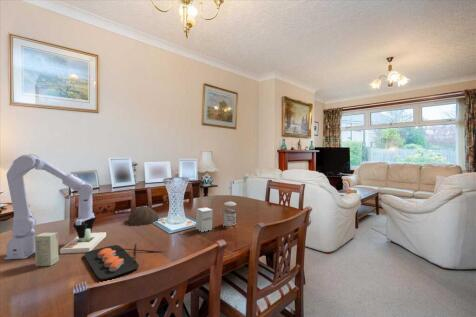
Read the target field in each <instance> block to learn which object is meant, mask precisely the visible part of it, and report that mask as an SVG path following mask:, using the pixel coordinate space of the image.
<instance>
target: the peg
mask: <svg viewBox="0 0 476 317" xmlns="http://www.w3.org/2000/svg"><path fill="white" fill-rule="evenodd" d="M91 233H92V231H91V229H86V230H85V236H84V238H80V242H90V241H91Z"/></svg>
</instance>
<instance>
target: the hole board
mask: <svg viewBox="0 0 476 317" xmlns="http://www.w3.org/2000/svg"><path fill="white" fill-rule="evenodd" d="M106 237H107V232H91V241H90V242H80V238H79V237H78V235H77V236H76V237H75V238H73V239H71V240H70V241H69V242H67V243H66V244H65V245H63V246H62V247H61V248H60V249H59V254H60V255H61V254H62V255H63V254H76V253H77V254H80V253H86V252H89V251H92V250H94V248H95V247H96V246H98V244H100V243H101V242H102V241H103V239H105V238H106Z"/></svg>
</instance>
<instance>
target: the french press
mask: <svg viewBox="0 0 476 317" xmlns="http://www.w3.org/2000/svg"><path fill="white" fill-rule="evenodd" d="M228 189H229V190H230V194H229V196H230V197H229V198H230V199H229V201H227V202H224V203H223V205H224V206H222V207H221V208H220V209H219V211H222V210H223V209H224V212H223V216H222V213H219V215H220V217H221V218H223V223H222V224H223V225H225V226H232V225H235V224H237V223H236V222H237V219H236V218H237V212H236V209H234V208H226V206H227V207H234V206H237V203H236V202H235V201H231V198H232V197H231V194H232V193H231V190H232V189H233V187H232V186H229V187H228Z"/></svg>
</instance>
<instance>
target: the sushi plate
mask: <svg viewBox="0 0 476 317" xmlns="http://www.w3.org/2000/svg"><path fill="white" fill-rule="evenodd" d="M127 251H134V258H133V257H132V256H131V255H130V254H129V253H128V252H127ZM137 251H138V252H147V253H163V252H162V251H160V250H147V249H137V244H136V245H135V244H134V249H133V248H132V249H131V248H123V247H122V246H120V245H118V244H115V245H108V246H105V247H99V248H95V249H92V250H91V251H89V252H84V258H85V260H86V262H87V263H88V265H89V266H90V268H91V269H92V271H93V272H94V275H95V276H96V277H97V278H98V279H99V280H107V279H108V280H109V279H111V278H116V277H118V276H121V275H125V274H127V273H130V272H132V271H135V270H137V269H138V268H139V266H140V265H139V263H138V262H137Z"/></svg>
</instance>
